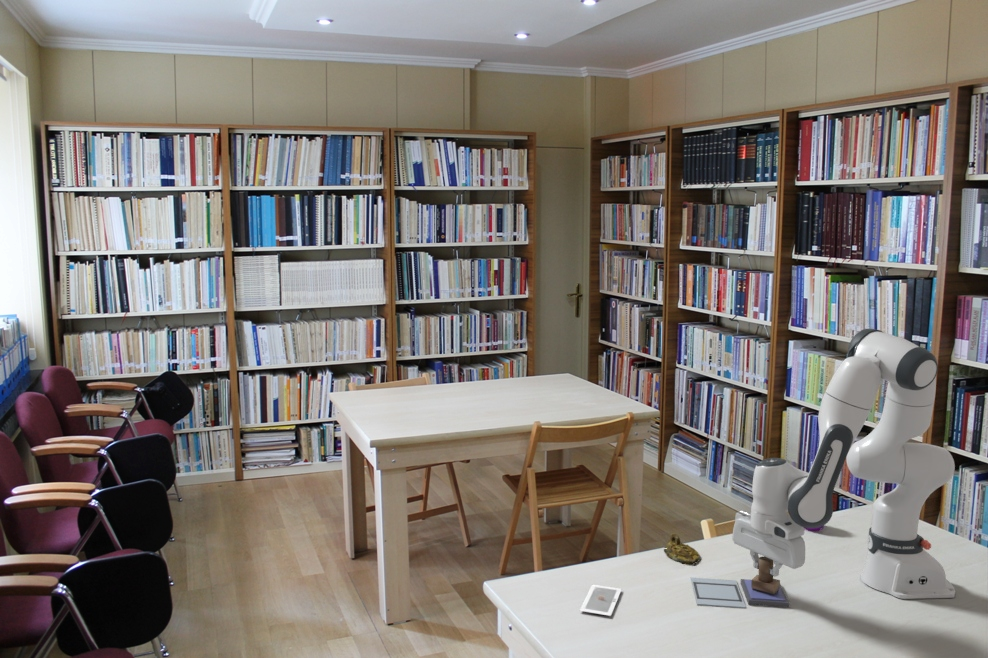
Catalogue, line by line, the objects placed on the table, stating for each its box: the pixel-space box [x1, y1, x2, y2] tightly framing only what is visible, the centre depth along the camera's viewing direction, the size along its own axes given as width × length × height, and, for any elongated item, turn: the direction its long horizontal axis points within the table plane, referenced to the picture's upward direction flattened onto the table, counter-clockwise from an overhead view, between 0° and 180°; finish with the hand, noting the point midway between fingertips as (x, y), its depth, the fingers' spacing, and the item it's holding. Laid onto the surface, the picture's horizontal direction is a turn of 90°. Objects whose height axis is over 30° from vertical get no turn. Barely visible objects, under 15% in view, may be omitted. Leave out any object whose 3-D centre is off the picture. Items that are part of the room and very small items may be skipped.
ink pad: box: [739, 578, 790, 608], centre depth 209 cm, size 10×12×2 cm
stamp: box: [751, 556, 781, 595], centre depth 208 cm, size 6×4×8 cm, turn 52°
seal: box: [663, 532, 701, 566], centre depth 234 cm, size 9×5×15 cm
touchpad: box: [579, 584, 622, 617], centre depth 205 cm, size 8×15×2 cm, turn 161°
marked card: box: [690, 576, 747, 609], centre depth 210 cm, size 12×15×1 cm
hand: (765, 571), depth 208 cm, fingers closed on stamp, 4 cm apart
